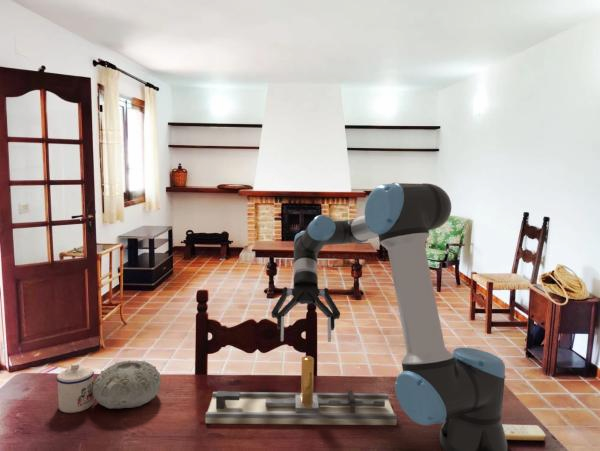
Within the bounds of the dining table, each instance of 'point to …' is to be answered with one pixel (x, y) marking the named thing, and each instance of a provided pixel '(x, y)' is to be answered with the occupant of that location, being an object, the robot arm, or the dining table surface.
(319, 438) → the dining table surface
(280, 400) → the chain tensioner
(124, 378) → the grey rounded lump
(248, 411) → the rail
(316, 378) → the dining table surface
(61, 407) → the teacup with lid
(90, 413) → the dining table surface
